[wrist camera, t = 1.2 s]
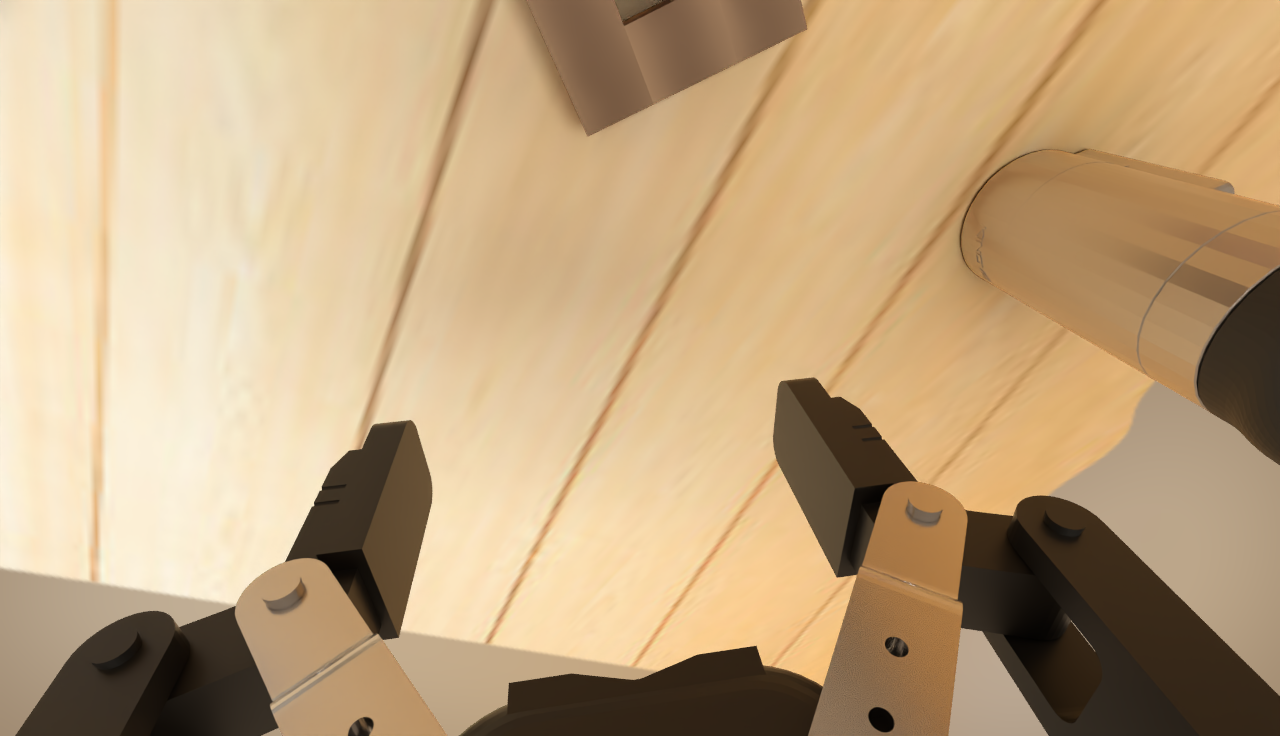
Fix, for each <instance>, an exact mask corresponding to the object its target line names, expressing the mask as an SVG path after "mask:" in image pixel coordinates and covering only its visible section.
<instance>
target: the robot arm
mask: <svg viewBox="0 0 1280 736" xmlns="http://www.w3.org/2000/svg"><path fill="white" fill-rule="evenodd" d="M961 248H962V252H963V256H964V260H965V262H966V263H967V265H968V267H969V268H970V269H971V270H972V271H973V272H974V273H975V274H976V275H977V276H979V277H980V278H982V279H984V280H986V281H987V282H989V283H991V284H992V285H994V286H996V287H997V288H999V289H1001V290H1003V291H1004V292H1006V293H1008V294H1009V295H1011V296H1013V297H1014V298H1016V299H1017V300H1019V301H1021V302H1023V303H1024V304H1026V305H1028V306H1029V307H1031V308H1033V309H1034V310H1036V311H1038V312H1040V313H1041V314H1043V315H1045V316H1046V317H1048V318H1050V319H1051V320H1053V321H1055V322H1057V323H1058V324H1060V325H1062V326H1063V327H1065V328H1067V329H1068V330H1070V331H1072V332H1074V333H1075V334H1077V335H1079V336H1080V337H1082V338H1084V339H1086V340H1087V341H1089V342H1091V343H1092V344H1094V345H1096V346H1097V347H1099V348H1101V349H1103V350H1104V351H1106V352H1108V353H1109V354H1111V355H1113V356H1114V357H1116V358H1118V359H1120V360H1121V361H1123V362H1125V363H1126V364H1128V365H1130V366H1131V367H1133V368H1135V369H1137V370H1138V371H1140V372H1142V373H1143V374H1145V375H1147V376H1149V377H1150V378H1152V379H1154V380H1155V381H1158V382H1159V383H1161V384H1163V385H1164V386H1166V387H1168V388H1169V389H1171V390H1173V391H1174V392H1176V393H1178V394H1180V395H1181V396H1183V397H1185V398H1186V399H1188V400H1190V401H1191V402H1193V403H1195V404H1197V405H1198V406H1200V407H1202V408H1203V409H1205V410H1207V411H1209V412H1210V413H1212V414H1214V415H1216V416H1217V417H1219V418H1220V419H1222V420H1224V421H1226V422H1228V423H1229V424H1231V425H1232V426H1234V427H1235V428H1237V429H1238V430H1239V431H1240V432H1241V433H1242V434H1243V435H1244V436H1245V437H1246V439H1248V441H1249V442H1250V443H1251V444H1252V445H1254V446H1255V447H1256V448H1257V449H1258V450H1259V451H1261V452H1262V453H1263V454H1264V455H1266V456H1267V457H1269V458H1270V459H1272V460H1273V461H1274V462H1276V463H1277V464H1279V465H1280V206H1278V205H1274V204H1270V203H1266V202H1262V201H1258V200H1255V199H1251V198H1247V197H1243V196H1239V195H1235V194H1234V187H1233V186H1232V185H1231V184H1230V183H1229V182H1226V181H1223V180H1219V179H1215V178H1211V177H1206V176H1202V175H1198V174H1194V173H1189V172H1185V171H1181V170H1177V169H1172V168H1168V167H1164V166H1160V165H1155V164H1151V163H1147V162H1143V161H1139V160H1134V159H1130V158H1126V157H1122V156H1117V155H1113V154H1109V153H1105V152H1100V151H1096V150H1092V149H1086V150H1084V151H1082V152H1080V153H1076V154H1072V153H1068V152H1064V151H1060V150H1042V151H1037V152H1033V153H1029V154H1027V155H1025V156H1023V157H1020V158H1018V159H1016V160H1014V161H1013V162H1011V163H1010V164H1008V165H1007V166H1005V167H1004V168H1002V169H1001V170H1000V171H999V172H998V173H996V174H995V175H994V176H993V177H992V178H991V179H990V180H989V181H988V182H987V183H986V185H985V186H984V187H983V188H982V189H981V191H980V192H979V193H978V195H977V196H976V198H975V200H974V201H973V203H972V205H971V206H970V208H969V211H968V213H967V216H966V218H965V221H964V225H963V230H962V235H961ZM773 443H774V451H775V455H776V459H777V462H778V464H779V466H780V468H781V470H782V472H783V474H784V476H785V478H786V479H787V481H788V483H789V485H790V487H791V489H792V491H793V493H794V495H795V497H796V499H797V501H798V503H799V505H800V507H801V509H802V511H803V513H804V514H805V516H806V518H807V520H808V522H809V524H810V526H811V528H812V530H813V532H814V534H815V536H816V538H817V540H818V542H819V544H820V546H821V548H822V549H823V551H824V553H825V555H826V557H827V559H828V561H829V563H830V565H831V567H832V569H833V571H834V573H835V575H836V577H844V576H851V575H857V577H856V581H855V584H854V587H853V591H852V594H851V597H850V600H849V604H848V607H847V610H846V613H845V617H844V620H843V623H842V627H841V630H840V633H839V636H838V640H837V643H836V646H835V649H834V653H833V656H832V659H831V663H830V666H829V669H828V672H827V676H826V679H825V682H824V685H823V686H821V685H819V684H818V683H816V682H814V681H812V680H810V679H808V678H806V677H804V676H802V675H799V674H796V673H793V672H790V671H788V670H784V669H780V668H775V667H771V666H763V665H762V662H761V659H760V656H759V653H758V649H757V646H752V647H746V648H739V649H732V650H726V651H719V652H712V653H706V654H699V655H696V656H693V657H691V658H689V659H686V660H684V661H682V662H679V663H677V664H675V665H672V666H670V667H668V668H665V669H663V670H661V671H658V672H656V673H654V674H651V675H649V676H647V677H644V678H642V679H637V680H626V679H617V678H608V677H598V676H589V675H579V674H566V675H559V676H553V677H546V678H540V679H533V680H527V681H520V682H513V683H509V692H508V705H505V706H503V707H501V708H499V709H497V710H495V711H493V712H491V713H489V714H488V715H486V716H484V717H483V718H481V719H480V720H478V721H477V722H476V723H474V724H473V725H471V726H470V727H469V728H468V729H466V730H465V731H464V732H463V733H462V734H461V735H459V736H948V733H949V725H950V715H951V707H952V698H953V690H954V682H955V673H956V664H957V656H958V647H959V638H960V630H961V628H965V629H972V630H978V631H983V633H984V635H985V636H986V638H987V639H988V641H989V643H990V644H991V646H992V647H993V649H994V650H995V652H996V654H997V655H998V657H999V658H1000V660H1001V661H1002V663H1003V665H1004V666H1005V668H1006V669H1007V671H1008V672H1009V674H1010V676H1011V677H1012V679H1013V680H1014V682H1015V683H1016V685H1017V687H1018V688H1019V690H1020V691H1021V693H1022V694H1023V696H1024V697H1025V699H1026V701H1027V702H1028V704H1029V705H1030V707H1031V709H1032V710H1033V712H1034V713H1035V715H1036V716H1037V718H1038V720H1039V721H1040V723H1041V724H1042V726H1043V727H1044V729H1045V731H1046V732H1047V734H1048V735H1049V736H1280V696H1279V695H1278V694H1277V693H1276V692H1275V691H1274V690H1273V689H1272V688H1271V687H1270V686H1269V685H1268V684H1267V683H1266V682H1265V681H1264V680H1263V679H1262V678H1261V677H1260V676H1259V675H1258V674H1257V673H1256V672H1255V671H1253V669H1252V668H1250V666H1249V665H1247V664H1246V663H1245V662H1244V661H1243V660H1242V659H1241V658H1240V657H1239V656H1238V655H1237V654H1236V653H1235V652H1234V651H1233V650H1232V649H1231V648H1230V647H1229V646H1228V645H1227V644H1226V643H1225V642H1224V641H1223V640H1222V639H1221V638H1220V637H1219V636H1218V635H1217V634H1216V633H1215V632H1214V631H1213V630H1212V629H1211V628H1210V627H1209V626H1208V625H1207V624H1206V623H1205V622H1204V621H1203V620H1202V619H1201V618H1200V617H1199V616H1198V615H1197V614H1196V613H1195V612H1194V611H1193V610H1191V608H1190V607H1189V606H1188V605H1187V604H1186V603H1185V602H1184V601H1183V600H1182V599H1181V598H1179V597H1178V595H1176V594H1175V593H1174V592H1173V591H1172V590H1171V589H1170V588H1169V587H1168V586H1167V585H1166V584H1165V583H1164V582H1163V581H1162V580H1161V579H1160V578H1159V577H1158V576H1157V575H1156V574H1155V573H1154V572H1153V571H1152V570H1151V569H1150V568H1149V567H1148V566H1147V565H1146V564H1145V563H1144V562H1143V561H1142V560H1141V559H1140V558H1139V557H1138V556H1137V555H1136V554H1135V553H1134V552H1133V551H1132V550H1131V549H1130V548H1129V547H1128V546H1127V545H1126V544H1125V543H1124V542H1123V541H1122V540H1121V539H1120V538H1119V537H1118V536H1117V535H1115V533H1114V532H1113V531H1111V529H1109V527H1108V526H1107V525H1106V524H1105V523H1104V522H1102V521H1101V520H1100V519H1099V518H1098V517H1097V516H1096V515H1094V514H1093V513H1091V512H1090V511H1088V510H1087V509H1085V508H1083V507H1081V506H1079V505H1077V504H1075V503H1072V502H1070V501H1067V500H1064V499H1060V498H1056V497H1051V496H1032V497H1028V498H1025V499H1023V500H1022V501H1020V502H1019V504H1018V505H1017V507H1016V510H1015V512H1014V515H1013V516H1007V515H999V514H990V513H982V512H974V511H967V510H965V509H964V507H963V506H962V504H961V503H960V502H959V501H958V500H957V499H956V498H955V497H954V496H952V495H951V494H950V493H948V492H946V491H944V490H943V489H941V488H938V487H936V486H933V485H930V484H926V483H922V482H918V481H917V480H916V479H915V478H914V476H913V475H912V474H911V473H910V471H909V470H908V469H907V468H906V466H905V465H904V464H903V463H902V461H901V460H900V459H899V458H898V456H897V455H896V454H895V453H894V451H893V450H892V449H891V448H890V446H889V445H888V444H887V443H886V441H885V440H882V436H881V435H880V434H879V432H878V431H877V430H876V429H875V427H872V424H871V422H870V421H869V420H868V419H867V417H866V416H865V415H864V414H863V412H862V411H861V410H860V409H859V408H857V407H856V406H854V405H853V404H851V403H849V402H848V401H846V400H845V399H843V398H842V397H834V398H831V397H830V396H829V395H828V393H827V392H826V391H825V389H824V388H823V387H822V385H821V384H820V383H819V381H818V380H817V379H816V378H805V379H796V380H787V381H781V382H780V384H779V386H778V393H777V403H776V413H775V424H774V434H773ZM431 504H432V481H431V476H430V472H429V469H428V465H427V462H426V459H425V455H424V452H423V449H422V445H421V442H420V439H419V435H418V432H417V429H416V426H415V424H414V423H413V421H411V420H409V421H399V422H390V423H381V424H374V425H373V426H372V428H371V430H370V432H369V434H368V437H367V439H366V441H365V443H364V446H363V448H362V449H360V450H351V451H348V452H347V453H346V454H345V455H344V456H343V457H342V458H341V459H340V460H339V461H338V462H337V463H336V464H335V465H334V466H333V467H332V468H331V469H330V471H329V473H328V475H327V477H326V479H325V481H324V483H323V485H322V491H320V492H319V494H318V496H317V498H316V500H315V502H314V507H312V508H311V510H310V512H309V514H308V516H307V518H306V520H305V522H304V524H303V526H302V528H301V530H300V532H299V534H298V536H297V539H296V541H295V543H294V545H293V547H292V549H291V551H290V553H289V555H288V557H287V559H286V561H285V562H284V563H282V564H279V565H277V566H275V567H273V568H271V569H269V570H268V571H266V572H264V573H263V574H261V575H260V576H259V577H257V578H256V579H255V580H254V581H253V582H252V583H251V584H249V586H248V587H247V588H246V589H245V590H244V591H243V593H242V594H241V596H240V598H239V600H238V602H237V604H236V606H234V607H232V608H229V609H227V610H224V611H222V612H219V613H217V614H214V615H211V616H208V617H206V618H203V619H200V620H197V621H195V622H192V623H189V624H187V625H184V626H181V627H178V625H177V624H176V623H175V621H174V620H173V618H172V617H171V616H170V615H168V614H166V613H164V612H159V611H148V612H142V613H137V614H134V615H131V616H128V617H125V618H123V619H120V620H118V621H116V622H114V623H112V624H110V625H108V626H107V627H105V628H103V629H102V630H100V631H99V632H97V633H96V634H94V635H93V636H92V637H90V638H89V639H88V640H86V641H85V642H84V643H83V644H82V645H81V646H80V647H79V648H78V649H77V650H76V651H75V652H74V653H73V654H72V655H71V657H70V658H69V659H68V660H67V662H66V663H65V664H64V666H63V667H62V669H61V670H60V672H59V673H58V675H57V676H56V678H55V679H54V681H53V682H52V683H51V685H50V686H49V688H48V689H47V691H46V692H45V693H44V695H43V697H42V698H41V699H40V701H39V702H38V704H37V705H36V706H35V708H34V709H33V711H32V712H31V714H30V715H29V717H28V718H27V720H26V721H25V723H24V724H23V726H22V727H21V728H20V730H19V731H18V733H17V734H16V736H261V735H263V734H265V733H268V732H270V731H272V730H274V729H277V728H279V729H280V732H281V734H282V736H447V734H446V733H445V731H444V730H443V728H442V727H441V725H440V724H439V722H438V721H437V719H436V718H435V717H434V715H433V713H432V712H431V711H430V709H429V708H428V706H427V705H426V703H425V702H424V700H423V699H422V697H421V696H420V694H419V693H418V691H417V690H416V688H415V687H414V685H413V684H412V683H411V681H410V680H409V678H408V677H407V675H406V674H405V672H404V671H403V669H402V668H401V666H400V665H399V663H398V662H397V660H396V659H395V657H394V656H393V655H392V653H391V652H390V650H389V649H388V647H387V646H386V644H385V643H384V641H383V640H386V639H392V638H399V634H400V630H401V626H402V622H403V618H404V614H405V610H406V606H407V602H408V598H409V594H410V590H411V585H412V581H413V577H414V573H415V569H416V565H417V561H418V557H419V553H420V549H421V545H422V541H423V537H424V533H425V528H426V524H427V520H428V516H429V512H430V508H431ZM1071 620H1072V622H1073V623H1074V624H1075V625H1076V627H1077V628H1078V629H1079V631H1080V632H1081V633H1082V634H1083V636H1084V637H1085V638H1086V639H1087V641H1088V642H1089V643H1090V644H1091V646H1092V647H1093V648H1094V650H1095V651H1094V650H1093V648H1092V647H1091V646H1090V645H1089V643H1088V642H1087V641H1086V640H1085V638H1084V637H1083V636H1082V635H1081V633H1080V632H1079V631H1078V630H1077V628H1076V627H1075V626H1074V624H1073V623H1072V622H1071Z"/></svg>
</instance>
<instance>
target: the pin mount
mask: <svg viewBox="0 0 1280 736" xmlns="http://www.w3.org/2000/svg"><path fill="white" fill-rule="evenodd" d="M526 1H527V3H528V6H529V8H530V10H531V12H532V15H533V17H534V19H535V21H536V23H537V26H538V28H539V30H540V32H541V34H542V37H543V39H544V41H545V43H546V46H547V48H548V50H549V52H550V54H551V57H552V59H553V61H554V63H555V65H556V68H557V70H558V72H559V74H560V77H561V79H562V81H563V83H564V85H565V88H566V90H567V92H568V94H569V96H570V99H571V101H572V103H573V105H574V108H575V110H576V112H577V114H578V116H579V119H580V121H581V123H582V125H583V127H584V130H585V132H586V134H587V136H590V135H592V134H594V133H596V132H598V131H600V130H602V129H604V128H606V127H608V126H610V125H612V124H614V123H616V122H618V121H620V120H623V119H625V118H627V117H629V116H631V115H633V114H635V113H637V112H639V111H641V110H643V109H645V108H647V107H649V106H651V105H653V104H655V103H657V102H659V101H661V100H663V99H665V98H668V97H670V96H672V95H674V94H676V93H678V92H680V91H682V90H684V89H686V88H688V87H690V86H692V85H694V84H696V83H698V82H700V81H702V80H704V79H706V78H708V77H710V76H712V75H715V74H717V73H719V72H721V71H723V70H725V69H727V68H729V67H731V66H733V65H735V64H737V63H739V62H741V61H743V60H745V59H747V58H749V57H751V56H753V55H755V54H757V53H760V52H762V51H764V50H766V49H768V48H770V47H772V46H774V45H776V44H778V43H780V42H782V41H784V40H786V39H788V38H790V37H792V36H794V35H796V34H798V33H800V32H802V31H804V30H807V25H806V21H805V16H804V12H803V7H802V3H801V0H664V1H662V2H661V3H659V4H657V5H655V6H653V7H651V8H649V9H647V10H645V11H643V12H641V13H639V14H637V15H635V16H633V17H631V18H629V19H627V20H625V21H623V22H622V19H621V17H620V14H619V12H618V9H617V6H616V4H615V1H614V0H526Z"/></svg>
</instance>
